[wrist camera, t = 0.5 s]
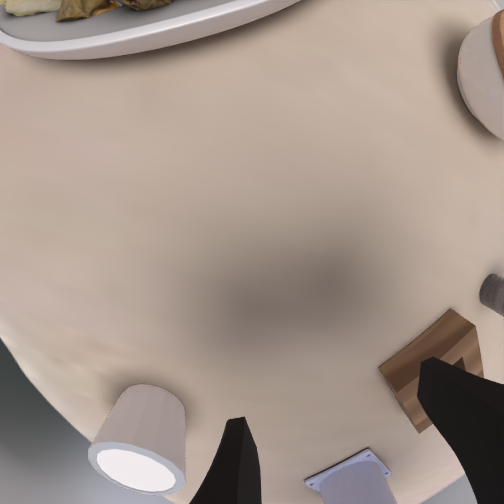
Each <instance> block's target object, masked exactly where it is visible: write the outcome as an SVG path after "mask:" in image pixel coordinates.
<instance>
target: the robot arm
mask: <svg viewBox="0 0 504 504" xmlns="http://www.w3.org/2000/svg"><path fill="white" fill-rule="evenodd" d="M417 398H418V400H419V402H420V404H421V406H422V408H423V409H424V411H425V413H426V415H427V416H428V417H429V419H430V420H431V421H432V423H433V424H434V425H435V427H436V428H437V429H438V431H439V432H440V433H441V435H442V436H443V437H444V439H445V440H446V441H447V443H448V444H449V445H450V447H451V448H452V450H453V451H454V453H455V454H456V456H457V458H458V460H459V461H460V463H461V465H462V467H463V469H464V471H465V473H466V475H467V477H468V480H469V482H470V484H471V486H472V489H473V492H474V494H475V497H476V500H477V503H478V504H504V384H500V383H497V382H493V381H490V380H488V379H485V378H482V377H479V376H477V375H474V374H472V373H469V372H467V371H465V370H462V369H460V368H458V367H456V366H453V365H451V364H449V363H447V362H444V361H442V360H440V359H438V358H435V357H431V358H428V359H426V360H424V361H422V362H421V366H420V375H419V383H418V391H417ZM391 474H392V473H391V471H390V470H389V469H388V468H387V467H386V466H385V465H384V464H383V463H382V462H381V461H380V460H379V458H378V457H377V456H376V455H375V454H374V453H373V452H372V451H371V450H370V449H366V450H364V451H362V452H360V453H359V454H357V455H355V456H353V457H351V458H350V459H348V460H346V461H344V462H342V463H340V464H338V465H336V466H334V467H332V468H330V469H328V470H326V471H324V472H322V473H320V474H318V475H316V476H313V477H311V478H309V479H307V480H305V485H307V486H309V487H310V488H312V489H314V490H315V491H317V492H319V493H321V495H322V499H323V502H324V504H397V502H396V500H395V498H394V496H393V494H392V491H391V489H390V487H389V485H388V483H387V481H386V478H387V477H389V476H390V475H391ZM189 504H262V503H261V476H260V465H259V458H258V453H257V447H256V445H255V442H254V440H253V437H252V434H251V432H250V429H249V427H248V424H247V422H246V419H245V417H240V418H234V419H229V420H228V421H227V422H226V426H225V430H224V433H223V436H222V439H221V442H220V445H219V448H218V450H217V453H216V455H215V457H214V460H213V462H212V465H211V467H210V469H209V471H208V473H207V475H206V477H205V479H204V481H203V483H202V484H201V486H200V488H199V489H198V491H197V493H196V494H195V496H194V497H193V499H192V500H191V502H190V503H189Z"/></svg>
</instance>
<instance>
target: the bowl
mask: <svg viewBox="0 0 504 504" xmlns="http://www.w3.org/2000/svg"><path fill="white" fill-rule="evenodd" d="M298 1H300V0H0V43H1V44H2V45H4V46H6V47H8V48H10V49H12V50H15V51H17V52H19V53H23V54H26V55H29V56H34V57H39V58H46V59H58V60H82V59H96V58H106V57H113V56H121V55H127V54H133V53H139V52H144V51H149V50H154V49H158V48H163V47H167V46H172V45H176V44H180V43H184V42H188V41H191V40H195V39H199V38H203V37H206V36H209V35H213V34H216V33H219V32H222V31H226V30H229V29H232V28H235V27H238V26H241V25H243V24H246V23H249V22H252V21H254V20H257V19H260V18H262V17H265V16H267V15H270V14H272V13H275V12H277V11H279V10H282V9H284V8H286V7H288V6H290V5H292V4H294V3H296V2H298Z"/></svg>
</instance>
